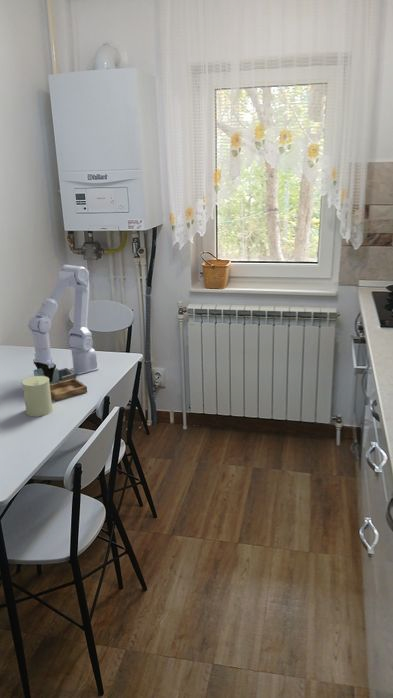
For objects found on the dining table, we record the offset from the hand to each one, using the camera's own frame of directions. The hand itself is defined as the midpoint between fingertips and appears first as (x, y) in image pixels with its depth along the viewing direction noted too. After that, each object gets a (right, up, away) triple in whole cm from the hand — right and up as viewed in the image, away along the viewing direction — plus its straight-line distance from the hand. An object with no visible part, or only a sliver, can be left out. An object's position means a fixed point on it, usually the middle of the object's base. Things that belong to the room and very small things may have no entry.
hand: (46, 379), depth 213 cm
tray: (+9, -4, -6) cm, 12 cm away
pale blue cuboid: (0, -1, +1) cm, 2 cm away
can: (+3, -10, -21) cm, 23 cm away
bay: (+6, -1, +5) cm, 8 cm away
